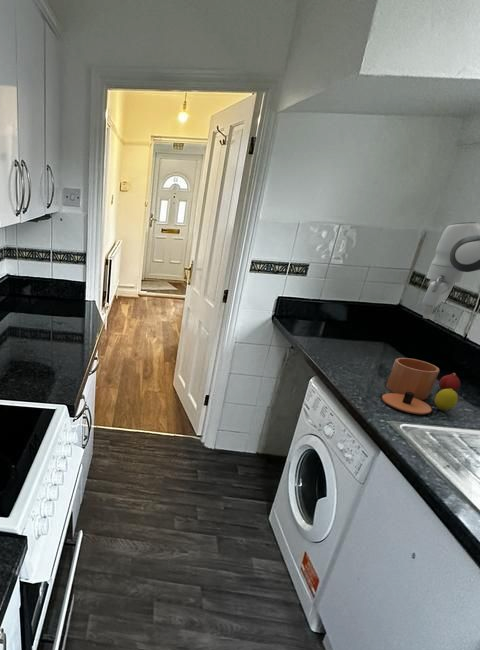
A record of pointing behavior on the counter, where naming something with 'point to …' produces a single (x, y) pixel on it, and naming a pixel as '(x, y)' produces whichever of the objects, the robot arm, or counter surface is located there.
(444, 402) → the lemon
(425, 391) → the pot
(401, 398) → the lid
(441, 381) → the onion
